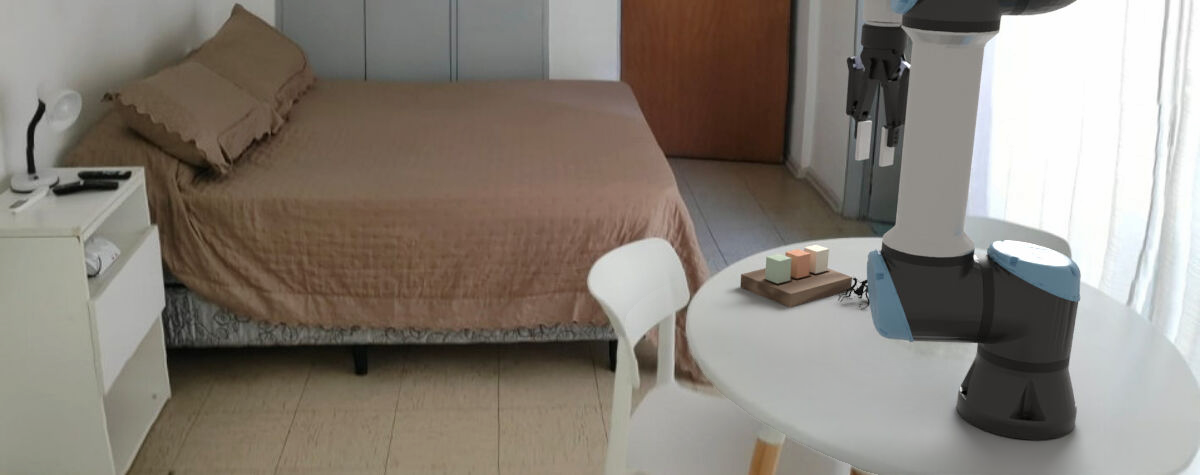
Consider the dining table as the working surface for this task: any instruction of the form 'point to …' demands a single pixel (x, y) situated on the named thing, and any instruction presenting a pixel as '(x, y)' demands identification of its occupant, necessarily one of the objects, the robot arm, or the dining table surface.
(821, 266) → the button cream
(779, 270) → the button sage
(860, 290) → the creature
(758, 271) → the panel
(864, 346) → the dining table surface
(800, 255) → the button terracotta
